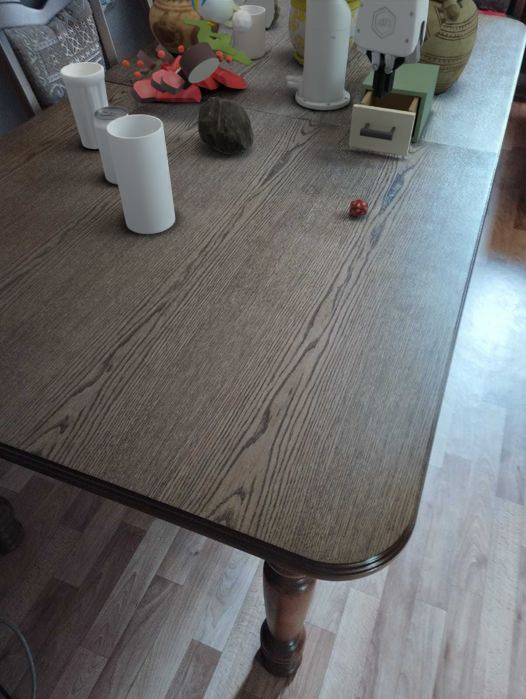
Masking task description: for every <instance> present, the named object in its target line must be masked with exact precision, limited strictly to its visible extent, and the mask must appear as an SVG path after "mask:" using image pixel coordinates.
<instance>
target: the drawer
mask: <svg viewBox="0 0 526 699" xmlns="http://www.w3.org/2000/svg"><path fill="white" fill-rule="evenodd" d="M420 102H421V97H417V96H410V95H403V94H396V93H389V94H388V95H387V96H385V97H384V98H382V99H381V98H379V97H373V90H369V91H368V92H367V94H366V95H365V97H364V98H363V100H362V101H361V103H360V102H359V104H360V105H359V104H358V103H353V105H352V110H351V111H352V112H351V118H350V120H351V121H350V127H349V128H350V129H349V137H348V147H351V148H356V149H361V150H368V151H374V152H378V153H379V152H380V153H385V154H391V155H397V156H403V157H407V156H408V154H409V148H410V144H411V141H410V140H411V135H412V132H413V130H414V128H415V126H416V122H417V117H418V112H419V107H420Z"/></svg>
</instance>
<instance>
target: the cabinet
mask: <svg viewBox="0 0 526 699" xmlns="http://www.w3.org/2000/svg"><path fill="white" fill-rule="evenodd" d="M387 59H388V58H386V63H387ZM439 67H440V66H437V65H429V64H421V63H414V64H403V65H401V66H400V67H399V68H398V69H396V71H395V77H394V83H393V89H392V91H391V92H390V93H396V94H403V95H410V96H417V97H421V102H420V107H419V112H418V117H417V122H416V126H415V128H414V130H413V132H412V135H411V140H410V142H412V143H418V141H419V138H420V137H421V134H422V132H423V129H424V127H425V125H426V122H427V120H428V118H429V116H430V113H431V110H432V104H433V100H434V96H435V94H434V91H435V86H436V81H437V77H438V72H439ZM373 77H374V70H373V69H372V68H371V70H370V72H369V73H368V74H367V76H366V77H365V79H364V80H363V82H362V83H361V90H360V96H359V105H360V103H361V101H362V100H363V98H364V97H365V95H366V94H367V92H368V91H369V90H374V89H373V88H372V84H373Z"/></svg>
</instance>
